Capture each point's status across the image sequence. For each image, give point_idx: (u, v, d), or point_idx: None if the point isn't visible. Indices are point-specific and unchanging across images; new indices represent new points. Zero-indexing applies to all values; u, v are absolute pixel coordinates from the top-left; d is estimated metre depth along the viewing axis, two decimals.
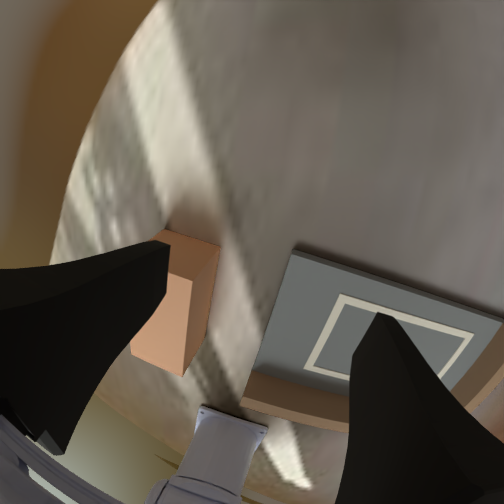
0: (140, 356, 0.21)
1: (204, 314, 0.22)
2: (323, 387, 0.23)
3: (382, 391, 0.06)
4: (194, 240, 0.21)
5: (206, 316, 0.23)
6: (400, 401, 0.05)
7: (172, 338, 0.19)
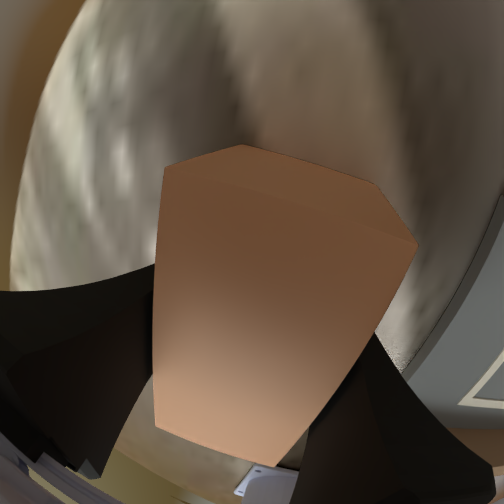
0: (177, 432, 0.09)
1: None
2: (466, 424, 0.11)
3: None
4: (319, 167, 0.09)
5: None
6: (351, 391, 0.06)
7: (278, 409, 0.07)
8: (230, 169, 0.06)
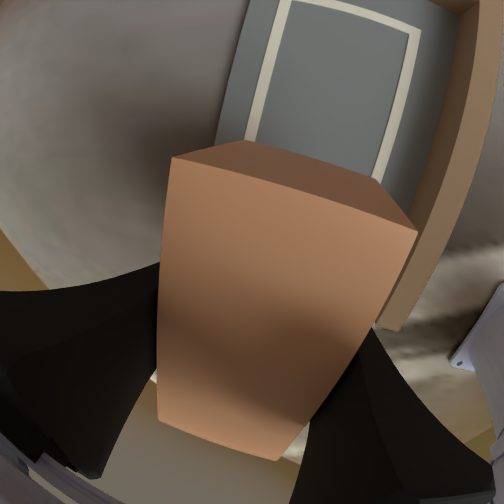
0: (180, 426, 0.09)
1: None
2: (406, 199, 0.15)
3: (338, 381, 0.07)
4: (320, 161, 0.09)
5: None
6: (351, 391, 0.06)
7: (282, 400, 0.07)
8: (235, 160, 0.06)
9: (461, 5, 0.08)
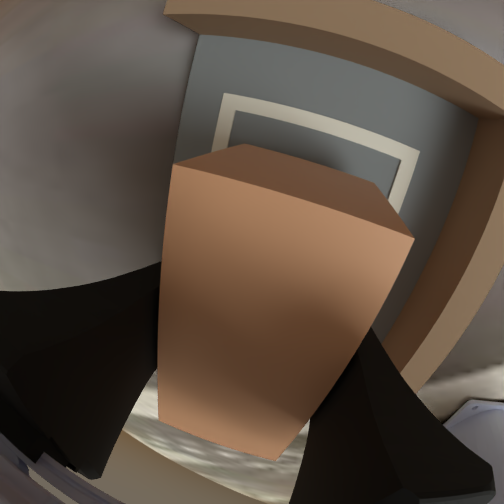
0: (180, 426, 0.09)
1: None
2: None
3: (338, 381, 0.07)
4: (319, 166, 0.09)
5: None
6: (351, 391, 0.06)
7: (281, 401, 0.07)
8: (235, 166, 0.06)
9: (487, 113, 0.07)
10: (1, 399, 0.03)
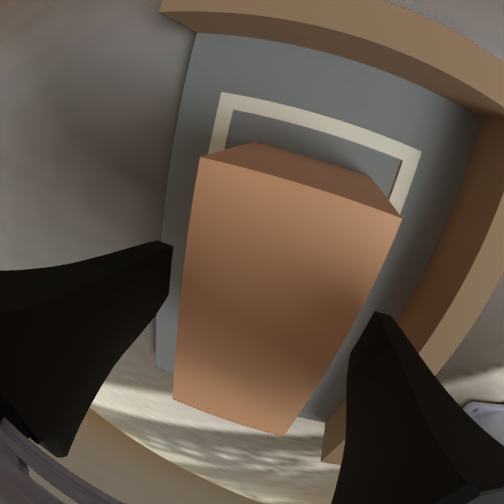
0: (193, 404, 0.10)
1: None
2: None
3: (379, 390, 0.06)
4: (321, 162, 0.10)
5: None
6: (396, 400, 0.05)
7: (289, 371, 0.08)
8: (250, 160, 0.07)
9: (490, 113, 0.07)
10: None
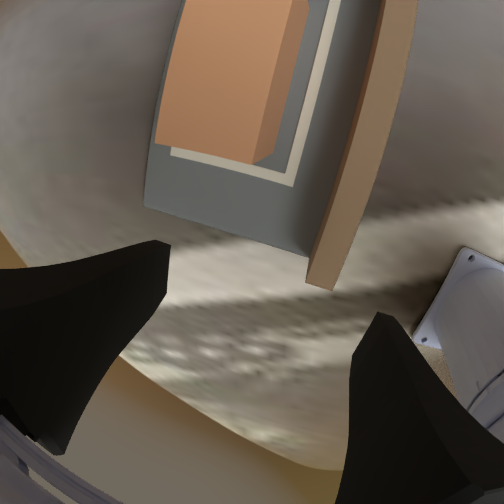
0: (172, 140, 0.12)
1: (285, 87, 0.13)
2: (335, 154, 0.15)
3: (382, 391, 0.06)
4: None
5: (284, 101, 0.14)
6: (400, 401, 0.05)
7: (249, 67, 0.10)
8: None
9: None
10: None
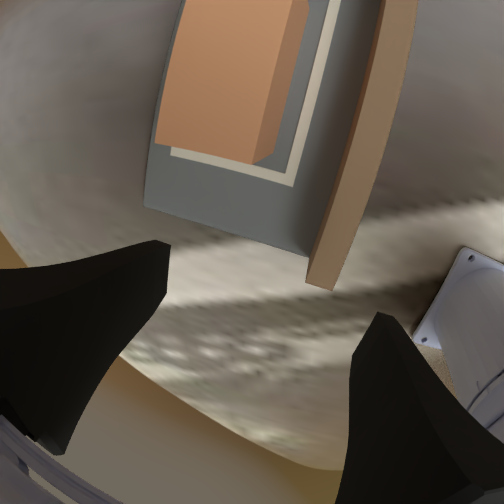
0: (172, 140, 0.12)
1: (285, 87, 0.13)
2: (335, 154, 0.15)
3: (382, 391, 0.06)
4: None
5: (284, 101, 0.14)
6: (400, 401, 0.05)
7: (249, 67, 0.10)
8: None
9: None
10: None
